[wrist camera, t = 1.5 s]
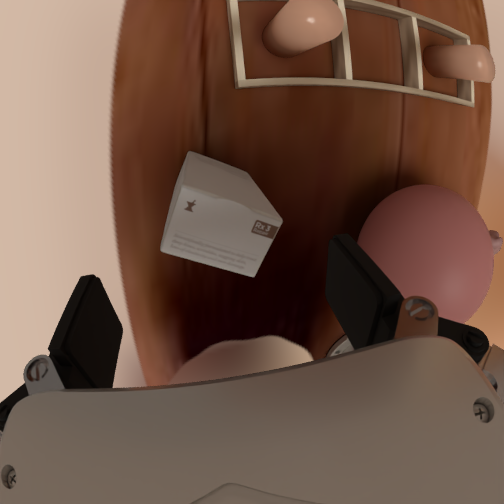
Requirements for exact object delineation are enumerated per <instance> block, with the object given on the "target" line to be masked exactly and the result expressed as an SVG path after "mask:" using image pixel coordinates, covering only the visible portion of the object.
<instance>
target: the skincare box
mask: <svg viewBox="0 0 504 504" xmlns="http://www.w3.org/2000/svg"><path fill="white" fill-rule="evenodd" d="M281 224H282V218H281V217H280V216H279V214H278V213H277V212H276V210H275V209H274V208H273V206H272V205H271V204H270V202H269V201H268V200H267V198H266V197H265V196H264V194H263V193H262V192H261V190H260V189H259V187H258V186H257V185H256V183H255V182H254V181H253V180H252V178H251V177H250V176H249V174H248V173H247V172H245V171H243V170H240V169H238V168H235V167H233V166H230V165H228V164H225V163H222V162H220V161H217V160H214V159H212V158H209V157H206V156H203V155H201V154H198V153H195V152H192V151H188V153H187V156H186V158H185V161H184V163H183V166H182V168H181V171H180V174H179V176H178V179H177V182H176V185H175V188H174V193H173V196H172V200H171V204H170V208H169V212H168V216H167V220H166V224H165V228H164V235H163V238H162V241H161V247H160V250H161V252H164V253H168V254H171V255H175V256H179V257H182V258H186V259H189V260H193V261H196V262H200V263H204V264H207V265H211V266H214V267H218V268H221V269H225V270H229V271H232V272H236V273H239V274H243V275H247V276H250V277H255V275H256V273H257V271H258V269H259V267H260V265H261V263H262V261H263V259H264V257H265V255H266V253H267V251H268V249H269V247H270V245H271V243H272V241H273V239H274V237H275V235H276V233H277V231H278V230H279V228H280V226H281Z"/></svg>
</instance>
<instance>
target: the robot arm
mask: <svg viewBox="0 0 504 504" xmlns="http://www.w3.org/2000/svg"><path fill="white" fill-rule="evenodd" d="M325 295H326V299H327V301H328V303H329V305H330V307H331V308H332V310H333V312H334V314H335V315H336V317H337V319H338V321H339V323H340V325H341V326H342V328H343V330H344V332H345V334H346V335H345V336H344V337H342V338H341V339H340V340H339V341H338V342H337V343H335V344H334V345H333V347H332V348H331V349H330V351H329V352H328V354H327V356H326V358H323V359H319V360H315V361H311V362H306V363H302V364H298V365H293V366H289V367H284V368H279V369H274V370H269V371H264V372H259V373H253V374H248V375H242V376H236V377H230V378H223V379H216V380H208V381H201V382H192V383H183V384H172V385H161V386H148V387H132V388H131V387H130V388H112V387H113V381H114V375H115V370H116V364H117V359H118V353H119V349H120V344H121V339H122V334H123V328H122V324H121V322H120V321H119V319H118V316H117V314H116V312H115V310H114V308H113V306H112V304H111V302H110V300H109V298H108V296H107V293H106V291H105V289H104V287H103V284H102V282H101V280H100V278H98V277H96V276H95V275H86V276H81V277H80V279H79V281H78V283H77V285H76V287H75V289H74V291H73V293H72V295H71V297H70V299H69V301H68V303H67V305H66V308H65V310H64V312H63V314H62V317H61V319H60V321H59V323H58V325H57V328H56V330H55V332H54V335H53V337H52V340H51V342H50V345H49V347H48V350H49V351H50V355H49V356H47V355H39V356H36V357H34V358H33V359H32V360H30V361H29V363H28V364H27V365H26V367H25V369H24V374H23V375H24V381H25V383H24V384H23V385H22V386H21V387H19V388H18V389H17V390H16V391H14V392H13V393H12V394H11V395H9V396H8V397H7V398H6V399H5V400H4V401H2V402H1V403H0V504H504V350H503V349H501V348H499V347H498V346H496V345H494V344H493V345H492V347H491V346H489V341H488V338H487V336H486V335H485V334H484V333H483V332H482V331H481V330H479V329H477V328H475V327H472V326H469V325H465V324H462V323H459V322H455V321H452V320H449V319H445V318H442V317H439V316H438V309H437V307H436V305H435V304H434V303H433V302H432V301H430V300H429V299H427V298H425V297H422V296H410V297H407V298H406V299H405V298H404V297H403V296H402V294H401V292H400V291H399V290H398V289H397V287H396V286H395V285H394V284H393V283H392V282H391V280H390V279H389V278H388V277H387V276H386V275H385V274H384V272H383V271H382V270H381V269H380V268H379V267H378V266H377V264H376V263H375V262H374V261H373V260H372V259H371V258H370V257H369V256H368V255H367V253H366V252H365V251H364V250H363V249H362V248H361V247H360V246H359V245H358V244H357V243H356V241H355V240H354V239H353V238H352V237H351V236H350V235H349V234H348V233H346V234H339V235H334V236H333V239H330V240H329V248H328V263H327V277H326V288H325Z"/></svg>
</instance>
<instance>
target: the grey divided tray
mask: <svg viewBox="0 0 504 504" xmlns="http://www.w3.org/2000/svg"><path fill="white" fill-rule="evenodd" d="M226 1H227V11H228V21H229V30H230V40H231V49H232V59H233V69H234V78H235V88H236V89H241V88H253V87H269V86H339V87H355V88H367V89H377V90H385V91H393V92H400V93H406V94H413V95H418V96H424V97H429V98H434V99H439V100H443V101H448V102H452V103H456V104H460V105H465V106H470V107H474V81H480V82H487V83H490V82H492V81H493V79H494V76H495V65H494V62H493V58H492V56H491V54H490V52H489V51H488V49H487V48H486V47H484V46H482V45H470V38H469V36H468V35H466V34H464V33H461V32H459V31H457V30H455V29H453V28H451V27H449V26H446V25H444V24H442V23H439V22H437V21H435V20H432V19H430V18H427V17H424V16H422V15H419V14H416V13H414V12H411V11H408V10H405V9H402V8H398V7H395V6H392V5H388V4H385V3H381V2H377V1H374V0H226ZM237 1H288V2H287V4H286V5H285V6H284V7H283V8H282V9H281V10H280V11H279V12H278V13H277V15H276V16H275V17H274V18H273V19H272V20H271V21H270V23H269V24H268V25H267V26H266V27H265V29H264V31H263V34H262V40H263V43H264V45H265V47H266V48H267V50H268V51H270V52H271V53H272V54H274V55H276V56H279V57H283V58H289V57H294V56H296V55H298V54H300V53H302V52H305V51H307V50H309V49H311V48H314V47H316V46H318V45H320V44H323V43H325V42H328V41H330V40H331V44H332V54H333V65H334V78H335V79H333V78H264V79H248V80H246V79H245V69H244V59H243V50H242V40H241V31H240V21H239V12H238V3H237ZM345 8H350V9H355V10H360V11H365V12H370V13H374V14H378V15H382V16H386V17H390V18H394V19H397V20H398V23H399V30H400V38H401V47H402V57H403V69H404V86H399V85H393V84H386V83H378V82H370V81H360V80H352V67H351V55H350V45H349V36H348V28H347V20H346V13H345ZM417 26H419V27H422V28H425V29H428V30H431V31H433V32H436V33H439V34H441V35H444V36H446V37H448V38H451V39H453V40H454V45H441V46H429V47H426V48H425V50H424V52H423V61H424V65H425V67H426V69H427V70H428V72H429V73H430V74H431V75H433V76H434V77H440V78H453V79H457V91H458V98H456V97H452V96H448V95H444V94H440V93H435V92H431V91H426V90H423V77H422V62H421V51H420V42H419V34H418V27H417Z"/></svg>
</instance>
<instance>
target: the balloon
mask: <svg viewBox="0 0 504 504" xmlns="http://www.w3.org/2000/svg"><path fill="white" fill-rule="evenodd" d="M502 242H503V241H502V238H501V237H499V234H498V232H497V231H493V230H490V231H488V229H487V226H486V224H485V222H484V220H483V219H482V217H481V216H480V214H479V213H478V211H477V210H476V209H475V208H474V207H473V205H472V204H471V203H469V202H468V201H467V200H466V199H465V198H463V197H462V196H461V195H459V194H457V193H456V192H454V191H452V190H449V189H447V188H444V187H440V186H436V185H414V186H409V187H406V188H403V189H400V190H398V191H396V192H394V193H392V194H391V195H389V196H388V197H386V198H385V199H384V200H382V201H381V202H380V203H379V204H378V205H377V206H376V207H375V208H374V209H373V211H372V212H371V213H370V215H369V216H368V218H367V219H366V221H365V223H364V225H363V227H362V229H361V232H360V234H359V237H358V241H357V244H358V245H359V246H360V247H361V248H362V249H363V250H364V251H365V252H366V253H367V255H368V256H369V257H370V258H371V259H372V260H373V261H374V262H375V263H376V264H377V266H378V267H379V268H380V269H381V270H382V271H383V272H384V274H385V275H386V276H387V277H388V278H389V279H390V280H391V282H392V283H393V284H394V285H395V286H396V287H397V289H398V290H399V291H400V292H401V294H402V296H403V297H404V298H405V299H406V298H407V297H410V296H422V297H425V298H427V299H429V300H430V301H432V302H433V303H434V304H435V305H436V307H437V309H438V316H439V317H442V318H445V319H449V320H452V321H455V322H459V323H462V324H464V323H465V322H466V321H467V320H468V319H470V318H471V317H472V315H473V314H474V313H475V312H476V311H477V309H478V308H479V307H480V305H481V304H482V302H483V300H484V298H485V296H486V294H487V292H488V290H489V287H490V283H491V280H492V275H493V267H494V255H495V254H496V253H497V252H498V251H500V249H501V245H502Z"/></svg>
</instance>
